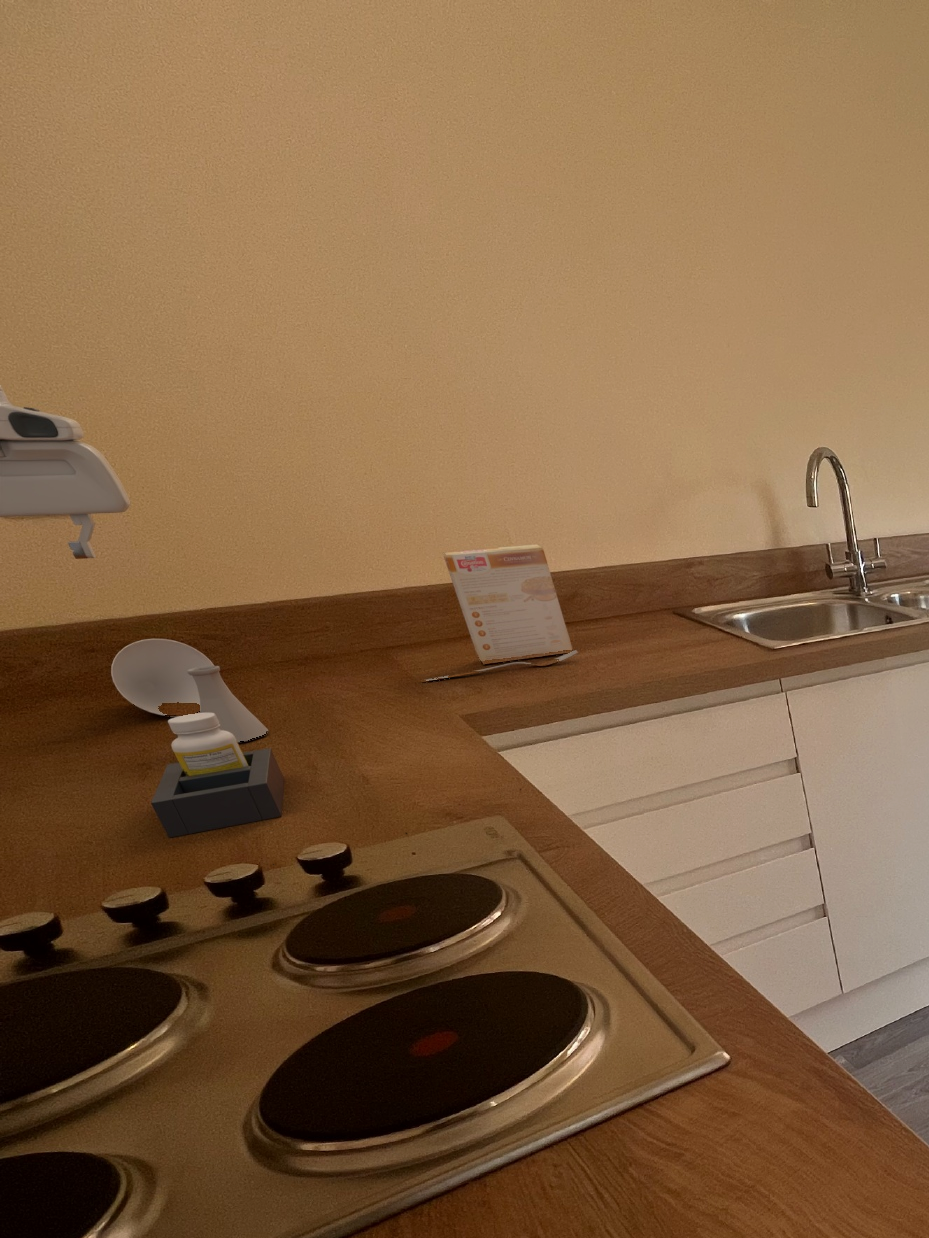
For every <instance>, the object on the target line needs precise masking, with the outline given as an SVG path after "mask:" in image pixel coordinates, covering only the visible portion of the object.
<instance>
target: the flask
mask: <svg viewBox="0 0 929 1238" xmlns="http://www.w3.org/2000/svg"><path fill="white" fill-rule="evenodd" d="M220 671H221V666H220V665H214V666H205V667H197V668H193V669H189V670H188V671H187V672H188V674H189V675H192V676H193V678H194V680H195V682H196V685H197V688H198V692H199V697H200V712H199V713H214V714H215V715H216V717H217V719H218V721H219V724H220V726H219V729H220V730H223V731H228V732H230V733H232V734H233V735H234V737H235V739H236V740H237V742H238V743H241V742H240V741H244V742H248V740H249V741H251V740H250V739H252V738H255V739H257V738H256V737H258V738H260V737H259V736H261V737H263V736H262V735H264V734H266V731H268V732H269V729H268V728H267V727H266V726H265V724H264V723H262V722H261V720H259V719H258V718H257V717H256V716H255V715H254V714H253V713H252V712H251V711H250V710H249V709H248V708H247V707H246V706H245V705H244V704H243V703H242V702H241V701H240V700H239V699H238V698H237V697H236V696H235V695H234V694H233V693H232V691H231V690H230V689H229V687H228V686H227V684H226V683H225V682H224V680H223V678H222V676H221V674H220ZM266 735H267V734H266ZM264 736H265V735H264ZM252 740H253V739H252Z"/></svg>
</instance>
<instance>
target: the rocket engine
mask: <svg viewBox="0 0 929 1238" xmlns="http://www.w3.org/2000/svg"><path fill="white" fill-rule="evenodd" d="M110 666H111V668H110V673H111V674H110V676H111V679H112V683H113V684H114V686H115V688H116V690H117V691H118V693H120V695H121V696H122V697H123V698H124V699H125V700H127V701H128V702H129V703H131V704H132V705H133V704H134V705H135V707H137V708H139V709H141V710H144V711H146V712H148V713H152V714H155V715H159V716H165V715H167V714H163V713H162V712H160V711H159V709H158V708H159V707H158V706H161V705H162V703H177V702H179V703H197V704H199V705H200V697H199V692H198V688H197V685H196V682H195V680H194V678H193V676H192V675H189V674H188V672H187V671H188V670H189V669H193V668H197V667H205V666H215V665H214V663H213V662H212V661H211V659H209V658H208V656H206V655H205V654H204V653H202V652H201V651H200V650H198V649H196V648H195V647H192V646H191V645H189V644H186V643H184V642H180V641H177V640H173V639H167V638H147V639H141V640H138V641H134V642H132V643H130V644H128V645H125V646H124V647H123V648H122V649H121V650H119V651H118V652H117V654H116V655H115V657H114V658H113V660H112V663H111V665H110ZM134 705H133V706H134ZM165 717H166V716H165Z"/></svg>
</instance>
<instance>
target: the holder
mask: <svg viewBox="0 0 929 1238" xmlns="http://www.w3.org/2000/svg"><path fill="white" fill-rule="evenodd" d="M242 753H243V755H244V757H245V759H246V761H247V763H248V765H249V766H247V767H241V768H235V769H229V770H223V771H217V772H211V773H205V774H199V775H193V776H187V777H186V775H185V773H184V771H183V769H182V767H181V765H180V763H179V762H174V763H167V765H166V766H165V769H164V772H163V775H162V776H161V779H160V781H159V783H158V786H157V788H156V790H155V792H154V794H153V797H152V800H151V802H150V805H151V806H152V809H153V810H154V812H155V815H156V816H157V818H158V820H159V822H160V823H161V826H162V828H163V830H164V831H165V832H164V833H166V835H167V837H168V838H169V839H171V838H176V837H182V836H187V835H192V834H198V833H203V832H207V831H213V830H218V829H223V828H229V827H235V826H239V825H245V824H250V823H256V822H260V821H265V820H266V821H267V820H270V819H276V818H282V814H283V802H284V801H283V800H284V798H283V797H284V787H285V786H284V785H285V776H284V775H283V772H282V770H281V768H280V766H279V763H278V761H277V759H276V757H275V754H274V753H273V750H272V748H271V747H269V748H263V749H256V750H249V751H244V752H243V751H242Z"/></svg>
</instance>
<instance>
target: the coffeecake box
mask: <svg viewBox="0 0 929 1238" xmlns="http://www.w3.org/2000/svg"><path fill="white" fill-rule="evenodd" d="M442 556H443V558H444V562H445V564H446V567H447V568H446V569H447V570H448V573H449V575H450V579H451V582H452V585H453V588H454V591H455V594H456V597H457V600H458V603H459V607H460V609H461V612H462V615H463V618H464V620H465V624H466V627H467V630H468V633H469V635H470V636H469V637H470V638H471V642H472V644H473V647H474V650H475V653H476V656H477V655H478V656H477V658H478V657H479V658H478V660H479V659H480V660H481V661H485V660H492V659H503V658H511V657H522V656H526V655H532V654H545V653H549V652H558V651H563V650H572V649H573V645H572V642H571V637H570V634H569V631H568V628H567V625H566V622H565V619H564V615H563V612H562V608H561V605H560V602H559V598H558V595H557V590H556V588H555V584H554V582H553V578H552V575H551V571H550V568H549V564H548V560H547V557H546V554H545V550H544V548H543V546H540V545H539V544H535V543H534V544H526V545H525V544H524V545H514V546H513V545H512V546H499V547H487V548H486V547H485V548H475V549H474V548H473V549H463V550H450V551H449V550H448V551H442ZM573 650H574V649H573ZM480 660H479V661H480Z"/></svg>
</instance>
